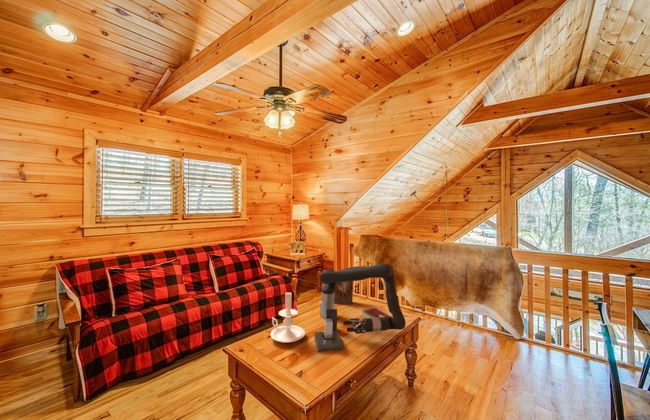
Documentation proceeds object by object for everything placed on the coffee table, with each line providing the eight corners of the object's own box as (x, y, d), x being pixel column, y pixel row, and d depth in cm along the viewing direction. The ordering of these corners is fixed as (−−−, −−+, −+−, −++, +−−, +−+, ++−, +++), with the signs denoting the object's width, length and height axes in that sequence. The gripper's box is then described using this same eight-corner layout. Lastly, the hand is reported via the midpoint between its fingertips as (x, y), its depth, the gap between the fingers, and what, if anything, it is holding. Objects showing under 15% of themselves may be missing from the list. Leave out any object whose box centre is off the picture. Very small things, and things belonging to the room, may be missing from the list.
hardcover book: (374, 312, 204) (374, 307, 204) (394, 324, 186) (394, 318, 185) (361, 315, 198) (361, 309, 198) (381, 327, 180) (381, 321, 180)
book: (331, 303, 219) (332, 272, 218) (332, 300, 225) (333, 270, 224) (352, 304, 217) (353, 273, 216) (352, 301, 223) (353, 271, 222)
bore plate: (317, 351, 149) (317, 344, 149) (314, 338, 163) (314, 332, 163) (342, 349, 152) (342, 342, 151) (337, 337, 165) (337, 330, 165)
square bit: (325, 346, 155) (325, 322, 154) (323, 342, 159) (324, 319, 158) (332, 345, 156) (332, 321, 155) (330, 342, 160) (331, 318, 159)
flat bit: (326, 331, 172) (326, 310, 172) (325, 329, 175) (325, 308, 174) (336, 330, 174) (337, 309, 173) (336, 328, 176) (336, 308, 175)
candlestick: (283, 324, 180) (284, 283, 179) (312, 337, 165) (313, 291, 164) (258, 336, 164) (259, 291, 163) (287, 351, 149) (288, 301, 148)
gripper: (368, 313, 168) (342, 314, 165) (376, 324, 154) (348, 325, 151) (367, 325, 168) (342, 326, 166) (375, 337, 154) (347, 338, 152)
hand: (345, 326), depth 159 cm, fingers open, 8 cm apart
